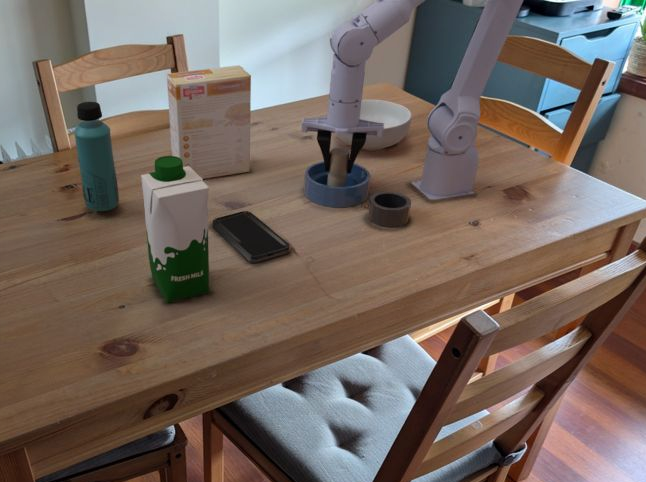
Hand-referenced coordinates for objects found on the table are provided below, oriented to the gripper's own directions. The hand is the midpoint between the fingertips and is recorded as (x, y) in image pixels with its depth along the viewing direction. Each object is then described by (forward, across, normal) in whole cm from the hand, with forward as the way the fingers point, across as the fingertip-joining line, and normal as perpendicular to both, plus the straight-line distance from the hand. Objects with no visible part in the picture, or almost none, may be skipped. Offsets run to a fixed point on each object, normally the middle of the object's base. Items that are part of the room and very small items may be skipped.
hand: (337, 170), depth 129 cm
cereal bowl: (+5, +6, +26) cm, 28 cm away
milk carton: (+5, -22, -36) cm, 43 cm away
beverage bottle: (+5, -42, -14) cm, 45 cm away
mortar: (+5, +10, -8) cm, 14 cm away
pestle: (+4, 0, 0) cm, 4 cm away
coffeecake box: (+5, -26, +7) cm, 27 cm away
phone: (+5, -14, -19) cm, 24 cm away
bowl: (+5, 0, 0) cm, 5 cm away
